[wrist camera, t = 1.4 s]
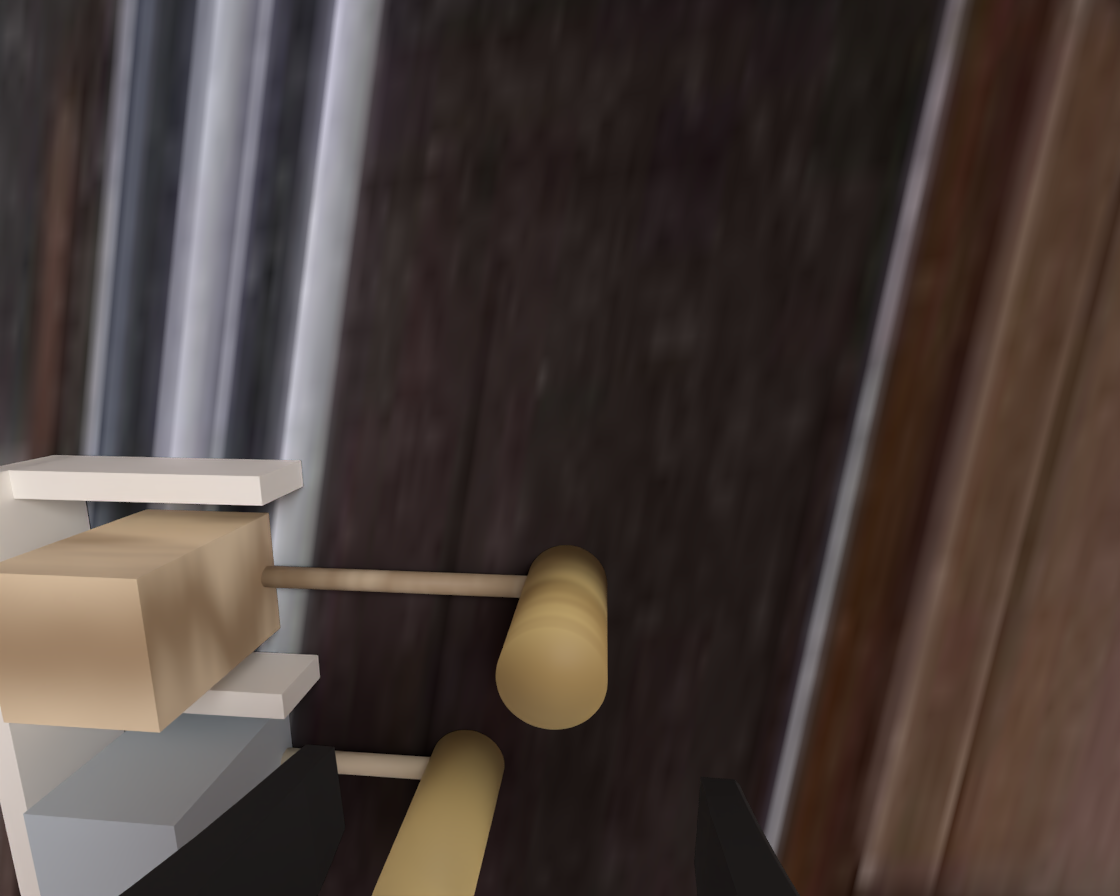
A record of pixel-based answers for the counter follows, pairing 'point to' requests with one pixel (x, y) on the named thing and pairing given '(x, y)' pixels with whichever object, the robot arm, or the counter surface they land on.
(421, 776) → the grey handled block
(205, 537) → the beige long piece
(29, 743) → the rack
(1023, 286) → the counter surface
